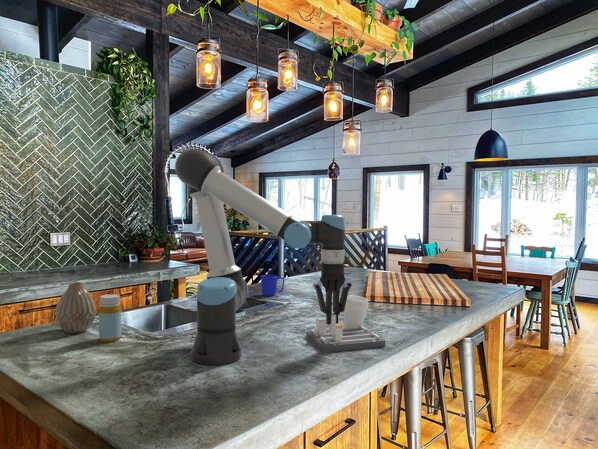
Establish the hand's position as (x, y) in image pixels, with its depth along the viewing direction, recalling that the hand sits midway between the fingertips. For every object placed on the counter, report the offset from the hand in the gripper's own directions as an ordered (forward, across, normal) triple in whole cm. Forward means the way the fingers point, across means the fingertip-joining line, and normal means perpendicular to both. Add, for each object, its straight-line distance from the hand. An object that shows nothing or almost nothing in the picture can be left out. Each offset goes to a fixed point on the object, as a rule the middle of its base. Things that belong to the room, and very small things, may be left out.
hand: (332, 333), depth 146 cm
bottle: (+4, -70, +28) cm, 76 cm away
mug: (+5, +2, +85) cm, 85 cm away
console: (+5, +6, +5) cm, 9 cm away
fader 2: (+2, +2, 0) cm, 3 cm away
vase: (+4, -83, +42) cm, 93 cm away
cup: (+5, +15, +17) cm, 23 cm away
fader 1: (+2, 0, +9) cm, 9 cm away
